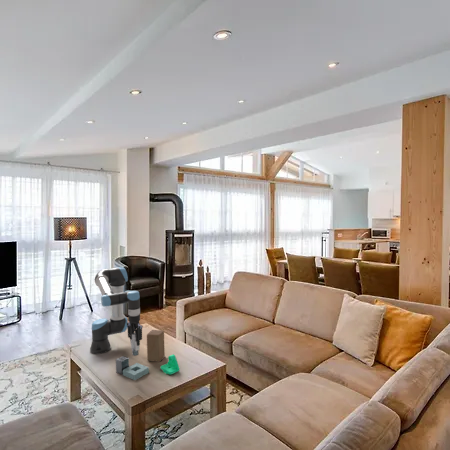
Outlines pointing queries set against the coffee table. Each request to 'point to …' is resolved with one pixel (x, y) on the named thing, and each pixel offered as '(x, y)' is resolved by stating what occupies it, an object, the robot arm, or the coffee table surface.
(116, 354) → the coffee table surface
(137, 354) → the cylinder
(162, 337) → the wooden block
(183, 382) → the coffee table surface
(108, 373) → the coffee table surface
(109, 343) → the robot arm
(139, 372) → the socket plate
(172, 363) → the camera mount
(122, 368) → the square bit
